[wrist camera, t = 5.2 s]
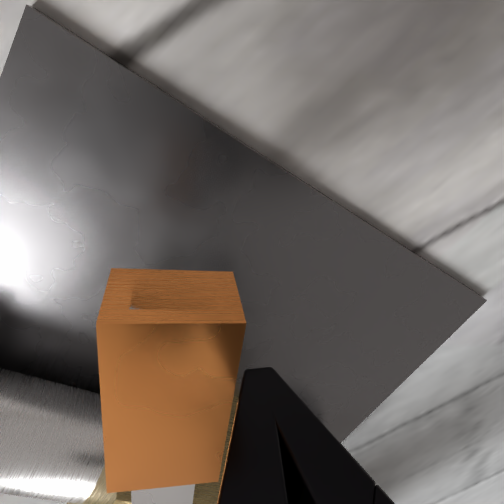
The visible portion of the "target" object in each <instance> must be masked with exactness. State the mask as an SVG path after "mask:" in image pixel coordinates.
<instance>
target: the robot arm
mask: <svg viewBox="0 0 504 504" xmlns="http://www.w3.org/2000/svg"><path fill="white" fill-rule="evenodd" d="M217 504H395V503H394V502H393V501H392V500H391V499H390V498H389V497H388V496H387V494H386V493H385V492H384V491H383V490H382V489H381V488H380V487H379V486H378V485H376V486H375V481H374V480H373V479H372V478H371V477H370V476H369V475H368V473H367V472H366V471H365V470H364V469H363V468H362V467H361V466H360V464H359V463H358V462H357V461H356V460H355V459H354V458H353V457H352V456H351V454H350V453H349V452H348V451H347V450H346V449H345V448H344V447H343V446H342V444H341V443H340V442H339V441H338V440H337V439H336V438H335V437H334V435H333V434H332V433H331V432H330V431H329V430H328V429H327V428H326V427H325V425H324V424H323V423H322V422H321V421H320V420H319V419H318V418H317V416H316V415H315V414H314V413H313V412H312V411H311V410H310V409H309V408H308V406H307V405H306V404H305V403H304V402H303V401H302V400H301V399H300V398H299V396H298V395H297V394H296V393H295V392H294V391H293V390H292V389H291V387H290V386H289V385H288V384H287V383H286V382H285V381H284V380H283V379H282V377H281V376H280V375H279V374H278V373H277V372H276V371H275V370H274V369H273V368H272V367H262V368H253V369H246V370H244V373H243V378H242V383H241V387H240V392H239V397H238V402H237V407H236V412H235V417H234V422H233V427H232V432H231V436H230V441H229V446H228V451H227V456H226V461H225V466H224V471H223V476H222V481H221V486H220V490H219V495H218V500H217Z"/></svg>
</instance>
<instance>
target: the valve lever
mask: <svg viewBox="0 0 504 504" xmlns="http://www.w3.org/2000/svg"><path fill="white" fill-rule="evenodd" d="M245 328H246V320H245V316H244V312H243V308H242V304H241V301H240V297H239V293H238V289H237V285H236V281H235V278H234V274H233V272H226V271H191V270H157V269H122V268H111V271H110V275H109V278H108V282H107V286H106V289H105V293H104V296H103V300H102V304H101V307H100V311H99V314H98V318H97V322H96V333H97V349H98V364H99V380H100V396H101V411H102V427H103V443H104V458H105V474H106V489H107V493H115V492H124V491H131V504H193V496H194V489H195V484H201V483H211V482H218V481H219V475H220V470H221V464H222V458H223V453H224V447H225V441H226V436H227V430H228V425H229V419H230V413H231V408H232V402H233V396H234V391H235V385H236V379H237V374H238V368H239V362H240V357H241V351H242V345H243V340H244V334H245Z"/></svg>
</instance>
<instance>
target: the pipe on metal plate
mask: <svg viewBox="0 0 504 504" xmlns="http://www.w3.org/2000/svg"><path fill="white" fill-rule="evenodd" d="M111 268H122V269H157V270H191V271H226V272H233V274H234V278H235V281H236V285H237V289H238V293H239V297H240V301H241V304H242V308H243V312H244V316H245V320H246V328H245V334H244V340H243V345H242V351H241V357H240V362H239V368H238V374H237V379H236V385H235V391H234V396H233V402H232V408H231V413H230V419H229V425H228V430H227V436H226V441H225V447H224V453H223V458H222V464H221V470H220V475H219V481H218V482H211V483H201V484H195V489H194V496H193V504H217V500H218V495H219V490H220V486H221V481H222V476H223V471H224V466H225V461H226V456H227V451H228V446H229V441H230V436H231V432H232V427H233V422H234V417H235V412H236V407H237V402H238V397H239V392H240V387H241V383H242V378H243V373H244V370H246V369H253V368H262V367H272V368H273V369H274V370H275V371H276V372H277V373H278V374H279V375H280V376H281V377H282V379H283V380H284V381H285V382H286V383H287V384H288V385H289V386H290V387H291V389H292V390H293V391H294V392H295V393H296V394H297V395H298V396H299V398H300V399H301V400H302V401H303V402H304V403H305V404H306V405H307V406H308V408H309V409H310V410H311V411H312V412H313V413H314V414H315V415H316V416H317V418H318V419H319V420H320V421H321V422H322V423H323V424H324V425H325V427H326V428H327V429H328V430H329V431H330V432H331V433H332V434H333V435H334V437H335V438H336V439H337V440H338V441H339V442H340V443H341V442H342V441H343V440H344V439H345V438H346V437H347V436H348V435H349V434H350V433H351V432H352V431H353V430H354V429H355V428H356V427H357V426H358V425H359V424H360V423H361V422H362V421H363V420H364V419H365V418H366V417H368V416H369V415H370V414H371V413H372V412H373V411H374V410H375V409H376V408H377V407H378V406H379V405H380V404H381V403H382V402H383V401H384V400H385V399H386V398H387V397H388V396H389V395H390V394H391V393H392V392H393V391H394V390H395V389H396V388H397V387H398V386H399V385H400V384H401V383H402V382H404V381H405V380H406V379H407V378H408V377H409V376H410V375H411V374H412V373H413V372H414V371H415V370H416V369H417V368H418V367H419V366H420V365H421V364H422V363H423V362H424V361H425V360H426V359H427V358H428V357H429V356H430V355H431V354H432V353H433V352H434V351H435V350H436V349H437V348H439V347H440V346H441V345H442V344H443V343H444V342H445V341H446V340H447V339H448V338H449V337H450V336H451V335H452V334H453V333H454V332H455V331H456V330H457V329H458V328H459V327H460V326H461V325H462V324H463V323H464V322H465V321H466V320H467V319H468V318H469V317H470V316H471V315H472V314H474V313H475V312H476V311H477V310H478V309H479V308H480V307H481V306H482V305H483V304H484V303H485V302H486V301H487V300H486V299H484V298H483V297H482V296H480V295H479V294H477V293H476V292H474V291H473V290H471V289H470V288H468V287H466V286H465V285H463V284H462V283H460V282H459V281H457V280H456V279H454V278H452V277H451V276H449V275H448V274H446V273H445V272H443V271H442V270H440V269H439V268H437V267H435V266H434V265H432V264H431V263H429V262H428V261H426V260H425V259H423V258H421V257H420V256H418V255H417V254H415V253H414V252H412V251H411V250H409V249H407V248H406V247H404V246H403V245H401V244H400V243H398V242H397V241H395V240H394V239H392V238H390V237H389V236H387V235H386V234H384V233H383V232H381V231H380V230H378V229H376V228H375V227H373V226H372V225H370V224H369V223H367V222H366V221H364V220H362V219H361V218H359V217H358V216H356V215H355V214H353V213H352V212H350V211H348V210H347V209H345V208H344V207H342V206H341V205H339V204H338V203H336V202H335V201H333V200H331V199H330V198H328V197H327V196H325V195H324V194H322V193H321V192H319V191H317V190H316V189H314V188H313V187H311V186H310V185H308V184H307V183H305V182H303V181H302V180H300V179H299V178H297V177H296V176H294V175H293V174H291V173H290V172H288V171H286V170H285V169H283V168H282V167H280V166H279V165H277V164H276V163H274V162H272V161H271V160H269V159H268V158H266V157H265V156H263V155H262V154H260V153H258V152H257V151H255V150H254V149H252V148H251V147H249V146H248V145H246V144H245V143H243V142H241V141H240V140H238V139H237V138H235V137H234V136H232V135H231V134H229V133H227V132H226V131H224V130H223V129H221V128H220V127H218V126H217V125H215V124H213V123H212V122H210V121H209V120H207V119H206V118H204V117H203V116H201V115H200V114H198V113H196V112H195V111H193V110H192V109H190V108H189V107H187V106H186V105H184V104H182V103H181V102H179V101H178V100H176V99H175V98H173V97H172V96H170V95H168V94H167V93H165V92H164V91H162V90H161V89H159V88H158V87H156V86H155V85H153V84H151V83H150V82H148V81H147V80H145V79H144V78H142V77H141V76H139V75H137V74H136V73H134V72H133V71H131V70H130V69H128V68H127V67H125V66H123V65H122V64H120V63H119V62H117V61H116V60H114V59H113V58H111V57H110V56H108V55H106V54H105V53H103V52H102V51H100V50H99V49H97V48H96V47H94V46H92V45H91V44H89V43H88V42H86V41H85V40H83V39H82V38H80V37H78V36H77V35H75V34H74V33H72V32H71V31H69V30H68V29H66V28H65V27H63V26H61V25H60V24H58V23H57V22H55V21H54V20H52V19H51V18H49V17H47V16H46V15H44V14H43V13H41V12H40V11H38V10H37V9H35V8H33V7H32V6H29V5H26V7H25V10H24V13H23V16H22V18H21V21H20V24H19V27H18V30H17V32H16V35H15V38H14V41H13V44H12V46H11V49H10V52H9V55H8V58H7V60H6V63H5V66H4V69H3V72H2V74H1V77H0V493H1V494H8V495H16V496H23V497H31V498H38V499H46V500H54V501H61V502H67V504H131V491H124V492H115V493H107V489H106V474H105V458H104V443H103V427H102V411H101V396H100V380H99V364H98V349H97V333H96V322H97V318H98V314H99V311H100V307H101V304H102V300H103V296H104V293H105V289H106V286H107V282H108V278H109V275H110V271H111Z"/></svg>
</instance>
